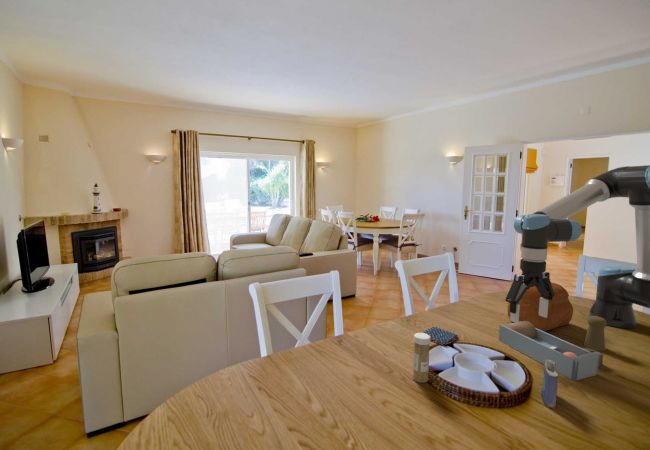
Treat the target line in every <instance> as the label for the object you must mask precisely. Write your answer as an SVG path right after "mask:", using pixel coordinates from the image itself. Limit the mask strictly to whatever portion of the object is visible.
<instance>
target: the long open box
mask: <svg viewBox="0 0 650 450" xmlns="http://www.w3.org/2000/svg"><path fill="white" fill-rule="evenodd" d="M498 341H499V342H501V343H503V344H505V345H506V346H508V347H511V348H512V349H514V350H515V351H517V352H520V353H521V354H523V355H525V356H527V357H529V358H531V359H532V360H534V361H537V363H540V364H542V365H544V364H545V361H546V360H547V359H548V360H551V361H554V362H555V363H556V365H555V370H556V372H557V373H558V374H561V375H563V376H564V377H567V378H568V379H570V380H572V381H574V382H576V381H580V380H583V379H586V378H591V377H594V376H598V374H599V366H600V365H599V358H600V353H601V352H600V351H596V352H589V351H587V349H585V348H583V347H580V346H578V345H576V344H573V343H571V342H570V341H567V340H564V339H562V338H559V337H558V336H555V335H553V334H550V333H548V332H547V331H541V330H539V329H537V328H535V327H534V326H533V324H531V323H530V322H528V321H523V322H521V321H519V322H518V323H514V322H512V323H506V324H505V325H503V324H500V325H499V332H498ZM565 352H571V353H574V354H576V355H577V356H575V357H574V358H571V357H569V356H566V355H564V354H563V353H565Z"/></svg>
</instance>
